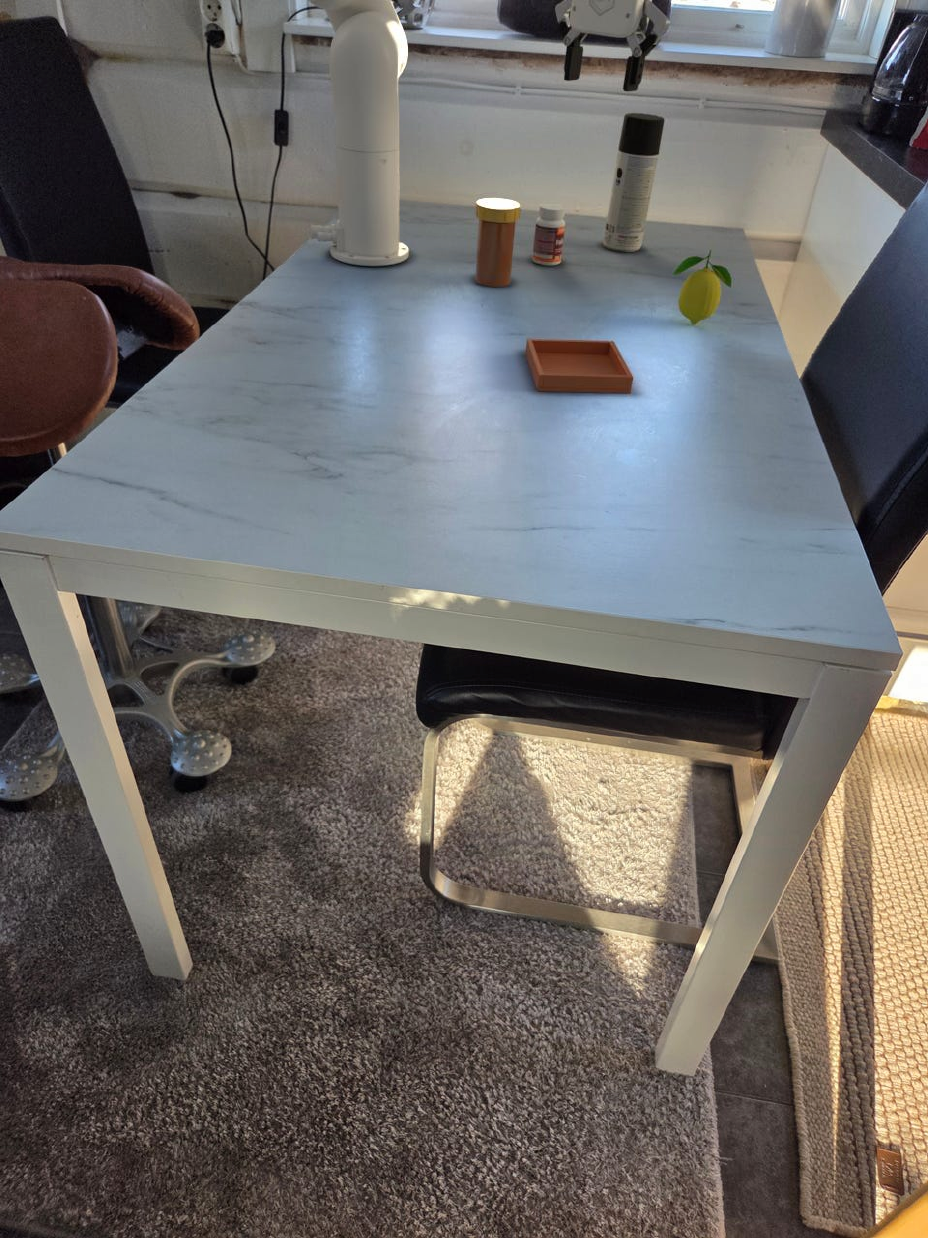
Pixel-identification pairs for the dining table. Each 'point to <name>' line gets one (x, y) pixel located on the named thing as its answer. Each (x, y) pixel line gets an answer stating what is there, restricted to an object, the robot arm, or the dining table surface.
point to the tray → (578, 366)
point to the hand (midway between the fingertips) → (600, 84)
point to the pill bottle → (549, 235)
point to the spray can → (633, 181)
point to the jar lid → (498, 210)
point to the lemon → (701, 289)
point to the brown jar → (494, 253)
